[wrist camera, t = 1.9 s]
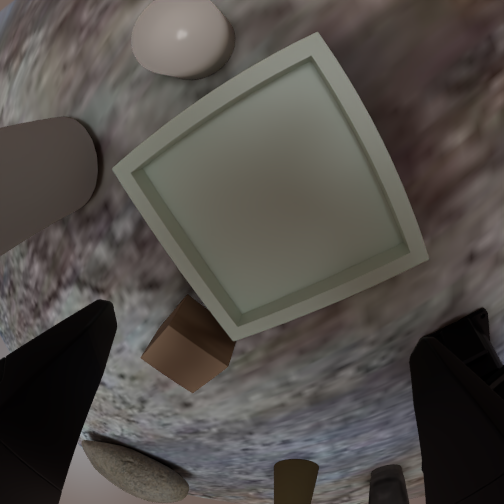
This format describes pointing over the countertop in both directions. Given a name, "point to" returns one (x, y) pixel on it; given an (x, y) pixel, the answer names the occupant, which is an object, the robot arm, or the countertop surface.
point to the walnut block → (190, 346)
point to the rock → (136, 472)
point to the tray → (275, 193)
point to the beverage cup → (388, 486)
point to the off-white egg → (182, 38)
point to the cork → (294, 481)
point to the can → (43, 176)
